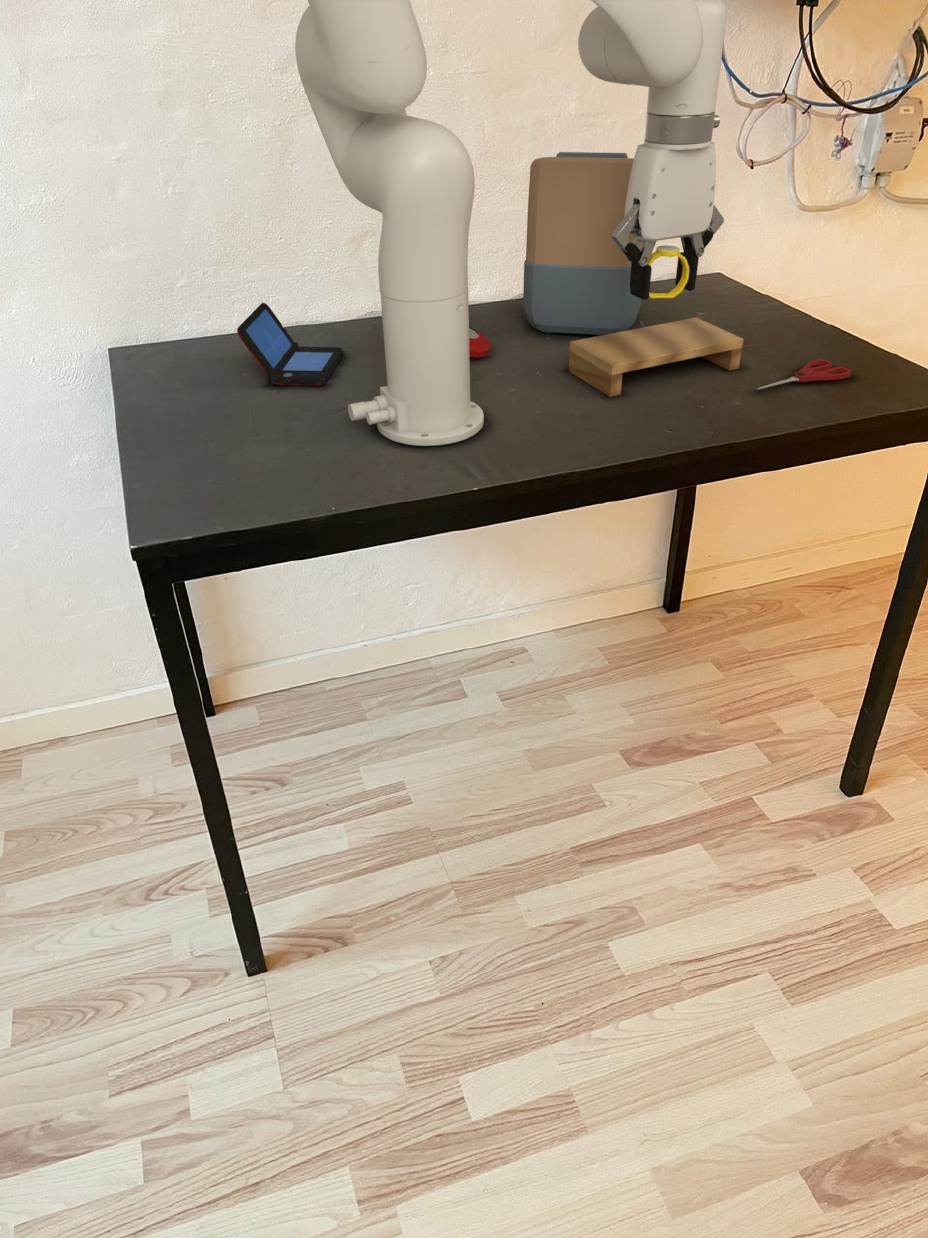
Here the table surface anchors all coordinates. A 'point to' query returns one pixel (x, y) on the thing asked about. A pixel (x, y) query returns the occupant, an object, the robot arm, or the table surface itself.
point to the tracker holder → (478, 344)
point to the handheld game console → (285, 351)
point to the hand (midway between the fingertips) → (662, 290)
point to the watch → (674, 251)
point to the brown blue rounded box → (578, 245)
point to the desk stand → (650, 351)
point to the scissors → (816, 373)
